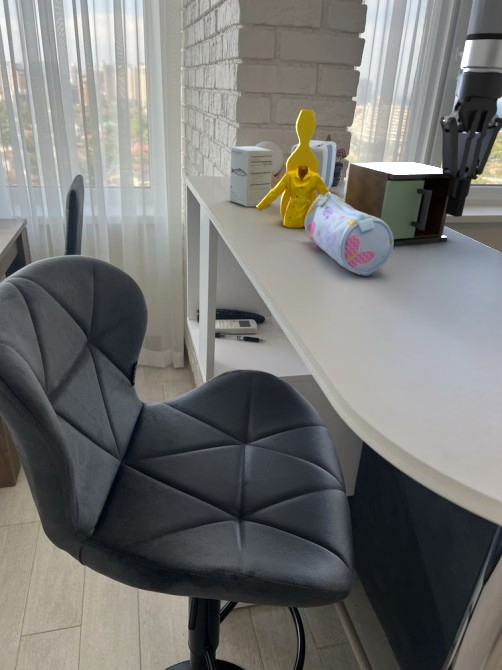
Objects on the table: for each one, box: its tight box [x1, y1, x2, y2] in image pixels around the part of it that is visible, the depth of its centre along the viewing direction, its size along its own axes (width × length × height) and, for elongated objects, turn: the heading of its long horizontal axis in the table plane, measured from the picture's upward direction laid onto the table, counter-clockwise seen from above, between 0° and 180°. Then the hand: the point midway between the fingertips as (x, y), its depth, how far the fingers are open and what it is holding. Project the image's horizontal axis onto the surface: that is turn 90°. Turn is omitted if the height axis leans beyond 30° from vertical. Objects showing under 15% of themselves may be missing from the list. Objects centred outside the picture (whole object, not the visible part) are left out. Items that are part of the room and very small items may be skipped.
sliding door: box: [381, 180, 432, 239], centre depth 91 cm, size 4×8×11 cm, turn 114°
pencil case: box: [304, 191, 394, 277], centre depth 84 cm, size 21×9×10 cm, turn 11°
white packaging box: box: [228, 145, 274, 208], centre depth 120 cm, size 7×7×13 cm
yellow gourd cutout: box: [290, 112, 337, 198], centre depth 131 cm, size 21×8×20 cm, turn 162°
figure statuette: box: [255, 109, 331, 229], centre depth 101 cm, size 18×8×22 cm, turn 89°
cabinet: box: [344, 162, 450, 247], centre depth 99 cm, size 14×16×13 cm
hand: (453, 214), depth 94 cm, fingers closed
